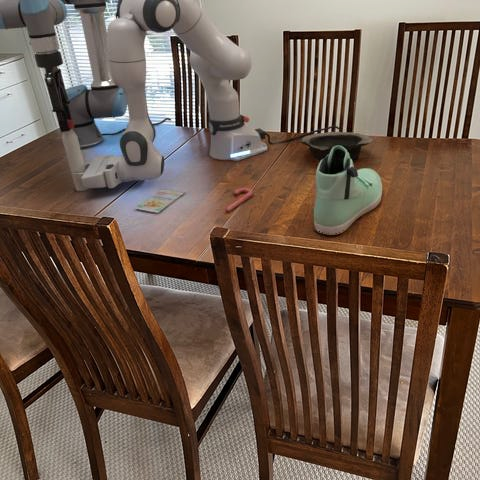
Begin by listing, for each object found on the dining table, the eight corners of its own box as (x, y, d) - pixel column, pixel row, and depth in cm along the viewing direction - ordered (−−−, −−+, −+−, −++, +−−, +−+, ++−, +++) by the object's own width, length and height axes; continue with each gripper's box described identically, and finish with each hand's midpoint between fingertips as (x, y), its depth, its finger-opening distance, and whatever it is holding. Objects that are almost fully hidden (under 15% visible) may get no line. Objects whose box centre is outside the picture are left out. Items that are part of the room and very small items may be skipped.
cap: (69, 130, 151) (67, 123, 150) (57, 130, 153) (55, 123, 151) (76, 126, 155) (75, 119, 154) (64, 126, 156) (63, 119, 155)
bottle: (85, 191, 162) (68, 125, 150) (73, 190, 163) (55, 125, 151) (92, 185, 166) (76, 120, 154) (80, 184, 167) (63, 120, 155)
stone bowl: (329, 177, 157) (328, 150, 153) (288, 159, 177) (286, 135, 173) (387, 158, 166) (388, 132, 161) (342, 144, 186) (341, 120, 182)
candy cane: (212, 209, 144) (212, 204, 144) (241, 189, 154) (240, 185, 154) (228, 213, 141) (228, 209, 140) (256, 193, 151) (256, 189, 151)
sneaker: (389, 187, 148) (396, 123, 138) (356, 242, 123) (361, 168, 112) (346, 181, 154) (350, 119, 144) (306, 232, 129) (307, 161, 118)
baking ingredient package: (134, 207, 147) (161, 188, 159) (134, 208, 148) (161, 189, 159) (157, 212, 144) (184, 192, 155) (158, 213, 144) (184, 193, 155)
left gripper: (40, 47, 149) (60, 120, 161) (26, 59, 133) (49, 139, 145) (65, 45, 150) (82, 118, 162) (54, 56, 134) (74, 136, 146)
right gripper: (120, 149, 168) (82, 151, 169) (107, 172, 151) (64, 175, 151) (124, 165, 172) (86, 168, 172) (112, 190, 154) (69, 193, 155)
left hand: (67, 128), depth 154 cm, fingers open, 6 cm apart
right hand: (75, 171), depth 162 cm, fingers closed on bottle, 5 cm apart
